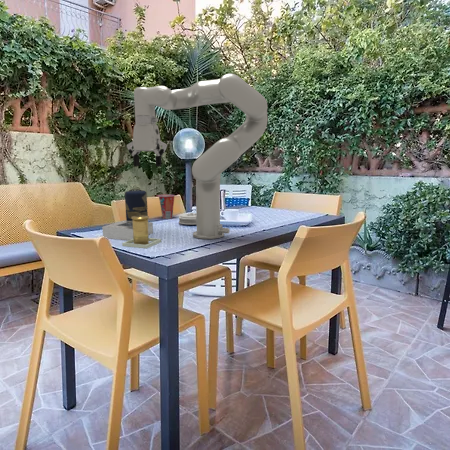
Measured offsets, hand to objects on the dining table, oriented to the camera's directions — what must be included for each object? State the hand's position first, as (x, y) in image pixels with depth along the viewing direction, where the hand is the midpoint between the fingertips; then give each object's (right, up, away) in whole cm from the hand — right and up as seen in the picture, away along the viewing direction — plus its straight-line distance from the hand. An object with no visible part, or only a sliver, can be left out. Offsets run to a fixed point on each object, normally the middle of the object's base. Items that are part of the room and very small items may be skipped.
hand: (147, 166), depth 140 cm
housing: (-8, -28, +3) cm, 29 cm away
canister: (-9, -25, +19) cm, 33 cm away
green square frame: (0, -31, -11) cm, 32 cm away
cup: (0, -20, +45) cm, 49 cm away
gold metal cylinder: (0, -30, -11) cm, 32 cm away
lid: (+15, -23, +30) cm, 41 cm away
